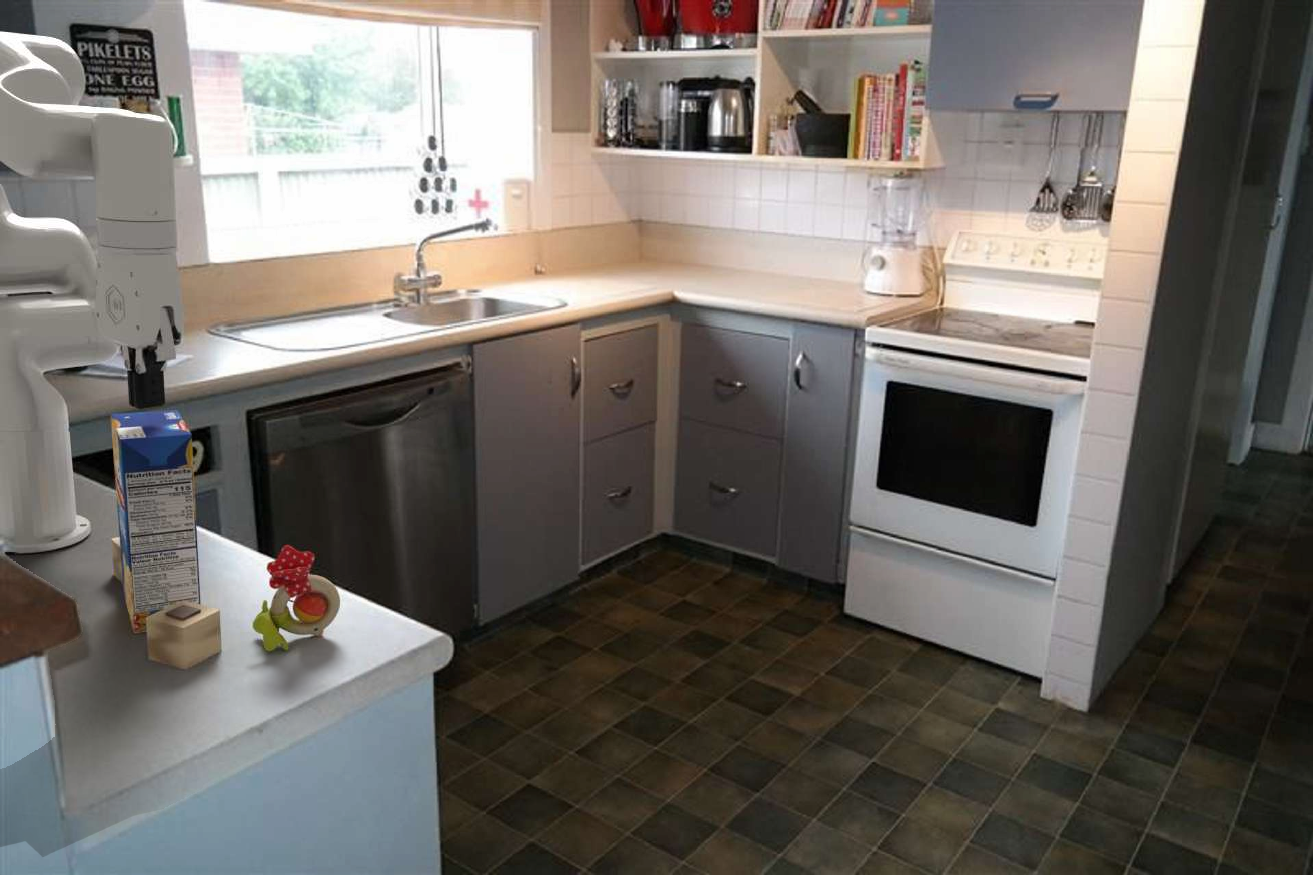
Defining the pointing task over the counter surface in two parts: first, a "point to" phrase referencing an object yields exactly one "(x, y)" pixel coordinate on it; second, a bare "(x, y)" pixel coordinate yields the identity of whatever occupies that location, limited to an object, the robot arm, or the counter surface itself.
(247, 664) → the counter surface
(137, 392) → the robot arm
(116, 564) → the marked oak block far
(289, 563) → the bird rattle
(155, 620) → the marked oak block near
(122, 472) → the beverage box
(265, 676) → the counter surface
